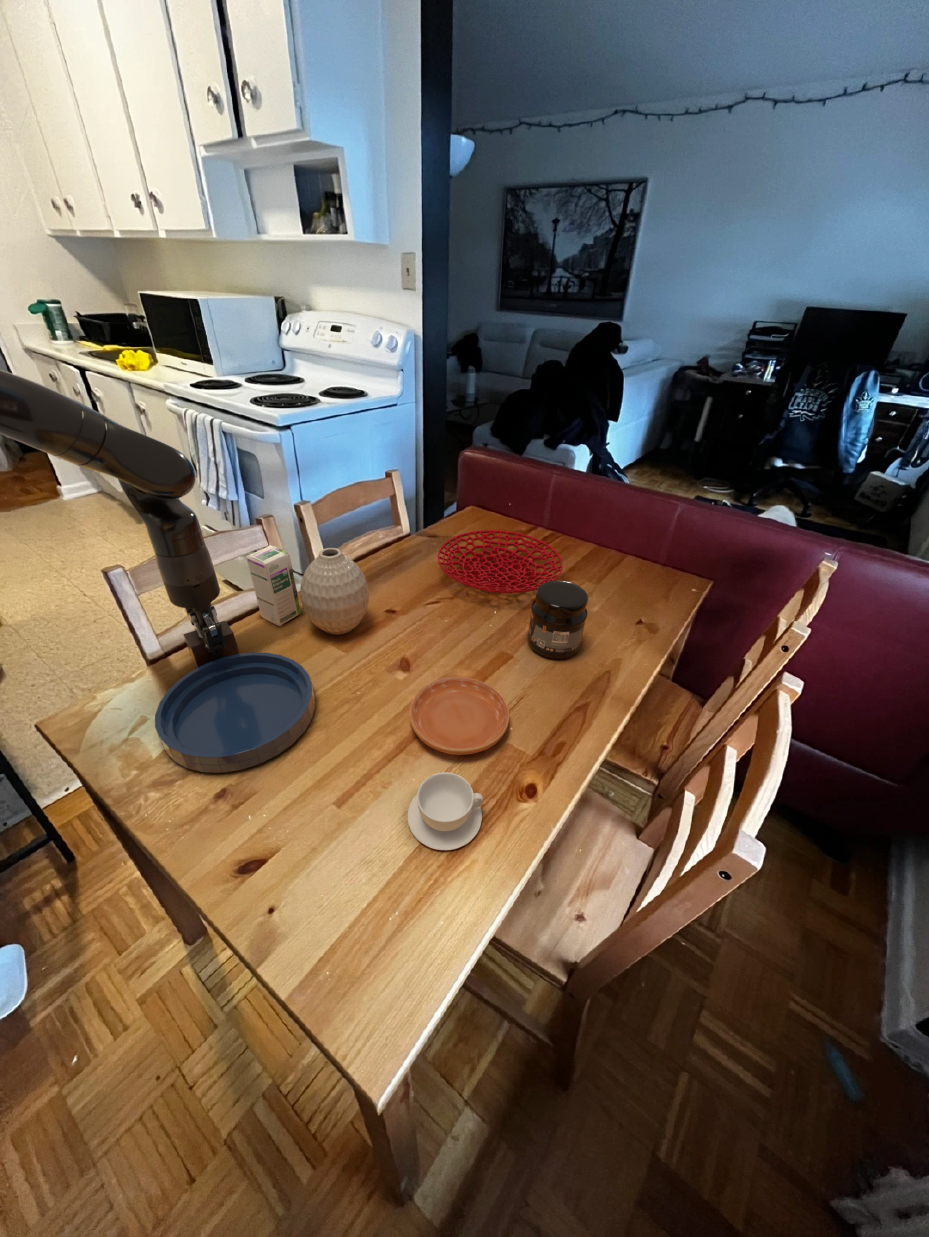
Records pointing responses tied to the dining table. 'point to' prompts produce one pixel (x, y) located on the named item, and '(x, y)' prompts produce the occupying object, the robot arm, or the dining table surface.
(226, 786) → the dining table surface
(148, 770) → the dining table surface
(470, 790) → the teacup
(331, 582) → the vase
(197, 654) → the dark brown block
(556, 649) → the supplement container
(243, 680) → the glazed bowl
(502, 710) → the saucer
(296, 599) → the syrup box
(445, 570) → the bowl
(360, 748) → the dining table surface
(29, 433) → the robot arm
